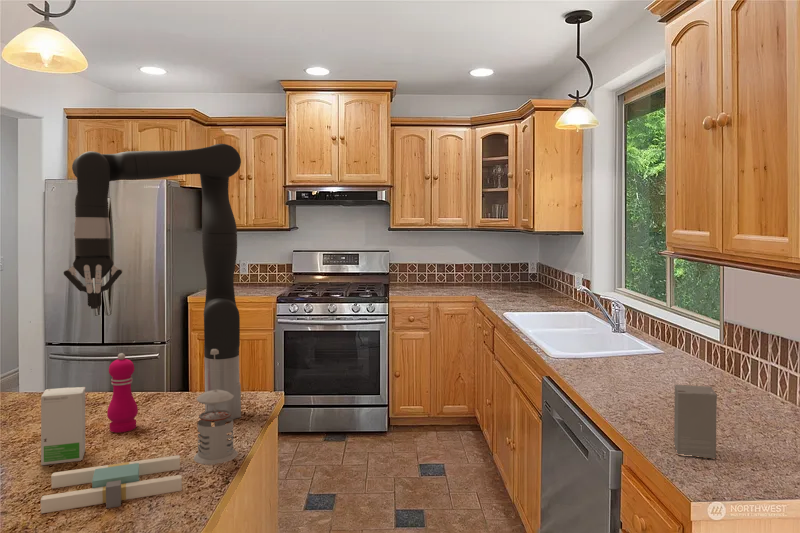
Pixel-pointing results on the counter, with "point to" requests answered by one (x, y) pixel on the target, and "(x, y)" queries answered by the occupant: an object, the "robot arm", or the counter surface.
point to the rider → (116, 475)
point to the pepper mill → (122, 396)
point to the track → (111, 485)
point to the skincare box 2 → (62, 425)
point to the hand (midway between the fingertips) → (94, 308)
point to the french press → (215, 428)
